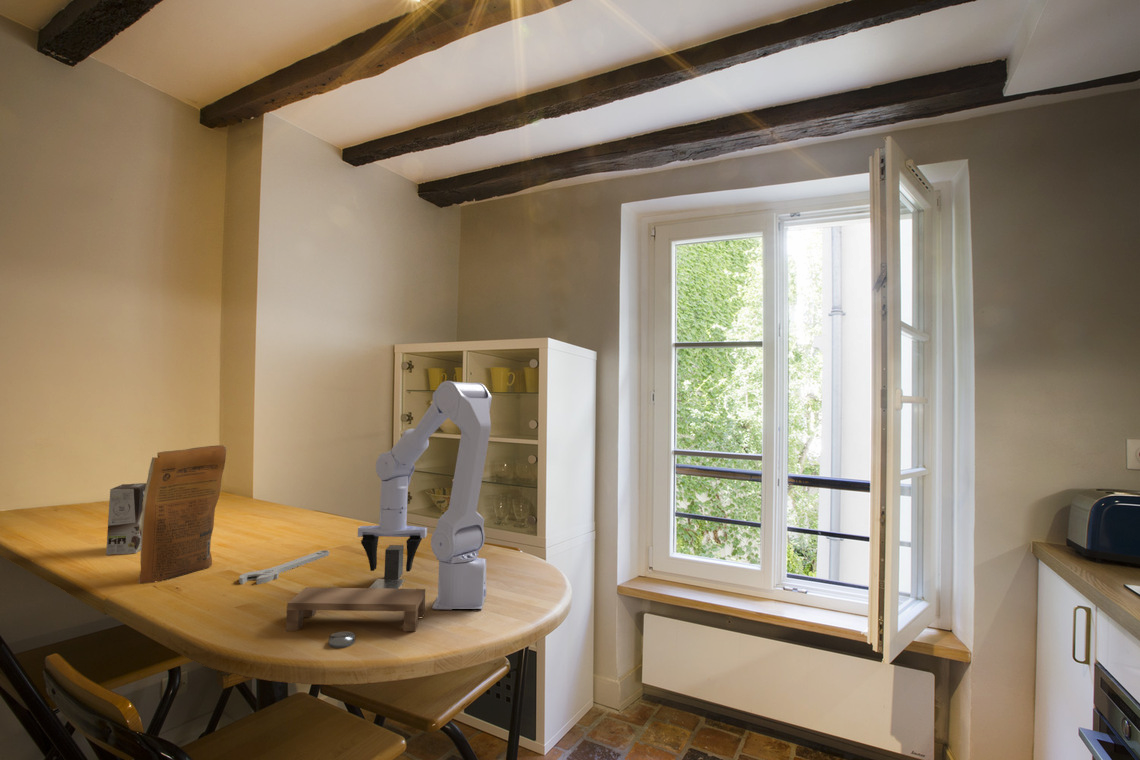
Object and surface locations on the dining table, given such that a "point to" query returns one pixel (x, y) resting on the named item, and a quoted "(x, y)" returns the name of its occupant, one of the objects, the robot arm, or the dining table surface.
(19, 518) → the dining table surface
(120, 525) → the coffee box
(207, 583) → the dining table surface
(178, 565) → the pancake mix bag
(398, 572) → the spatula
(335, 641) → the steel disc
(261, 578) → the adjustable wrench
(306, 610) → the walnut shelf
